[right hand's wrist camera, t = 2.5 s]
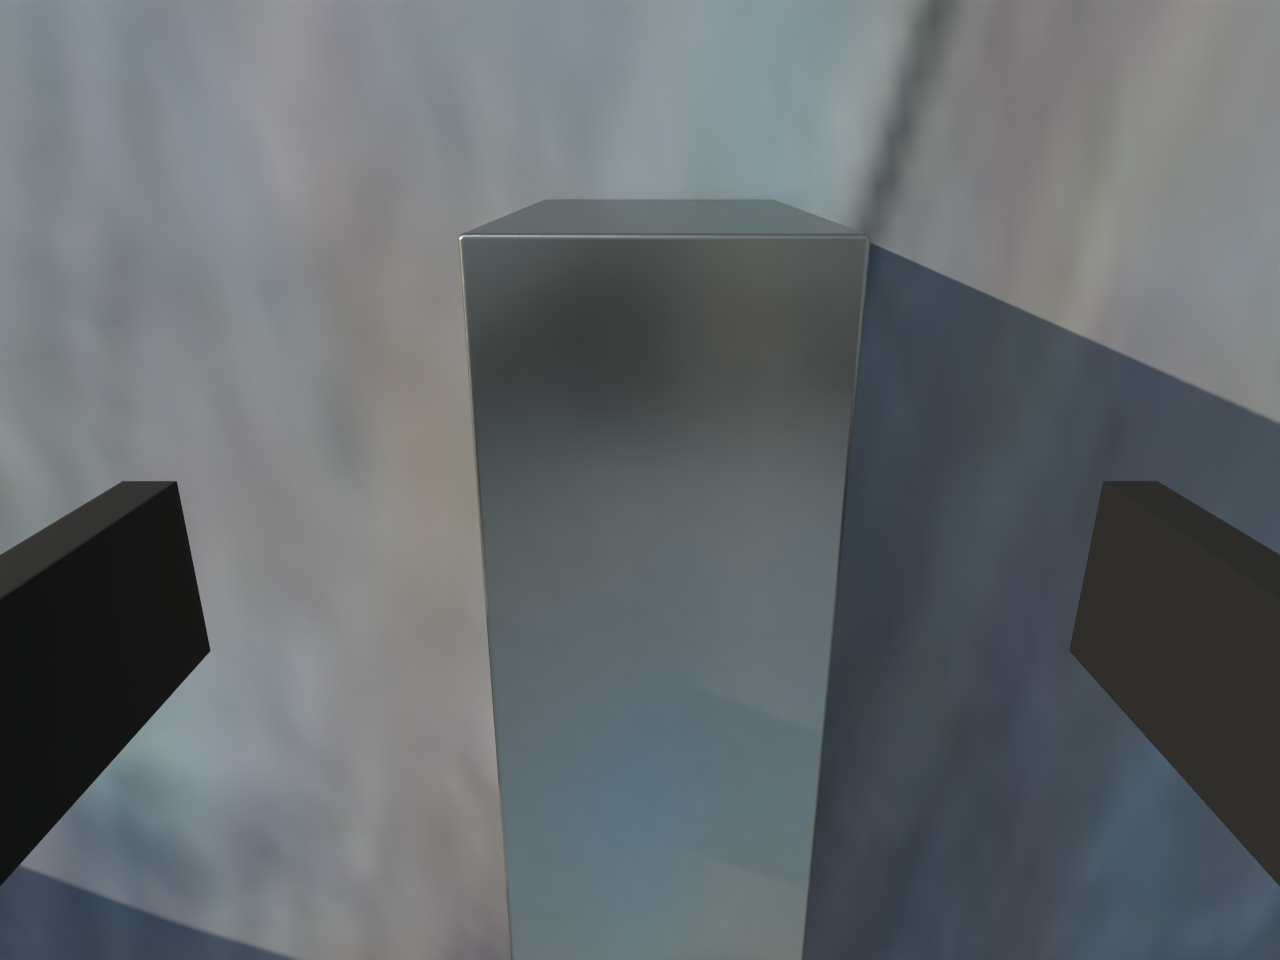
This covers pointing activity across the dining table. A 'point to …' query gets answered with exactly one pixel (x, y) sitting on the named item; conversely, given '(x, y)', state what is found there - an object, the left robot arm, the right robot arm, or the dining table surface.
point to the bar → (661, 561)
